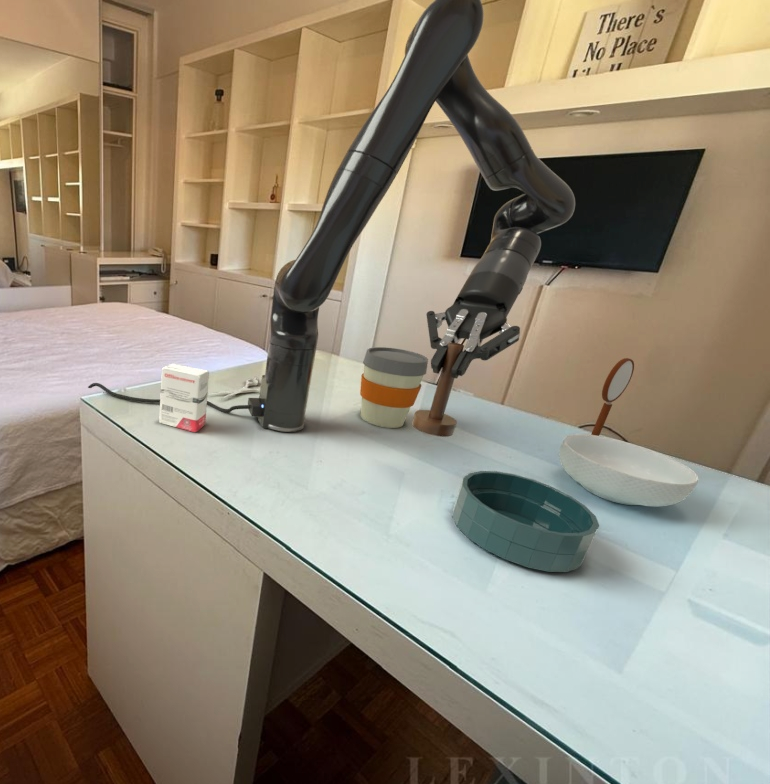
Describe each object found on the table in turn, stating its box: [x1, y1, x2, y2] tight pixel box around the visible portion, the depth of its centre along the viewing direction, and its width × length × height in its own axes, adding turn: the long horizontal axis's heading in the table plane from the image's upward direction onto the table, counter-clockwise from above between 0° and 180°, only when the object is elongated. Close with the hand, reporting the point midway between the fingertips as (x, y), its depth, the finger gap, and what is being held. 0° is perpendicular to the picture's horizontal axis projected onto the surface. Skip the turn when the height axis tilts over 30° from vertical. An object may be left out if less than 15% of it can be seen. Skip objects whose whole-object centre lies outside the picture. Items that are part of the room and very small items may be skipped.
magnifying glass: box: [590, 357, 635, 436], centre depth 87 cm, size 9×2×20 cm, turn 117°
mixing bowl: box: [451, 470, 600, 573], centre depth 63 cm, size 15×15×6 cm
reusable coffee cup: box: [359, 346, 429, 429], centre depth 99 cm, size 13×13×15 cm
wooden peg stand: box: [411, 342, 465, 438], centre depth 71 cm, size 6×6×14 cm
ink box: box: [158, 363, 210, 433], centre depth 90 cm, size 8×5×12 cm, turn 63°
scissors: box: [209, 376, 260, 400], centre depth 112 cm, size 11×1×20 cm
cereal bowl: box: [558, 433, 699, 507], centre depth 76 cm, size 17×17×7 cm
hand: (444, 372), depth 68 cm, fingers closed on wooden peg stand
